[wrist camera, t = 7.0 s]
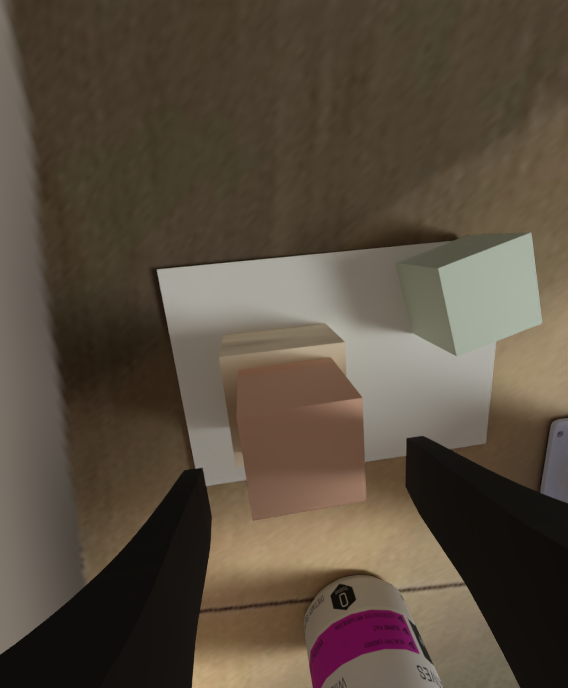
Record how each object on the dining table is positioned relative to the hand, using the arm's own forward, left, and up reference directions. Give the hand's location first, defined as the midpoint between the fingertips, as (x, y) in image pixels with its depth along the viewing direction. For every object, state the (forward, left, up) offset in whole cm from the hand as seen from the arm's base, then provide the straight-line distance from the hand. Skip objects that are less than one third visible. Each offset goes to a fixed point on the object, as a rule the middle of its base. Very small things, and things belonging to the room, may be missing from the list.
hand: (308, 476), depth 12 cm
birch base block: (0, 0, -9) cm, 9 cm away
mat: (0, -4, -10) cm, 10 cm away
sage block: (+5, -10, -9) cm, 14 cm away
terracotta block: (0, 0, -5) cm, 5 cm away
